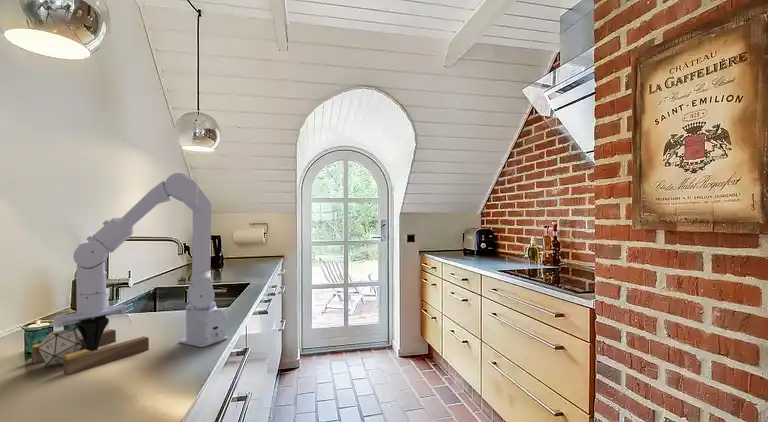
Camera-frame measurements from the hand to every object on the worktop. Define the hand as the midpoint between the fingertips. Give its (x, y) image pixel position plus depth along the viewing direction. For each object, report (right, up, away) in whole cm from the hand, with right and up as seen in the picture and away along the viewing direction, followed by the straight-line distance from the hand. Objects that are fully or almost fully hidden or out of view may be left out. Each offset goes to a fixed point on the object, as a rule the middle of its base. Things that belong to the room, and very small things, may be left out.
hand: (92, 349), depth 94 cm
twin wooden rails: (0, -1, 0) cm, 1 cm away
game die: (-3, -2, -5) cm, 6 cm away
